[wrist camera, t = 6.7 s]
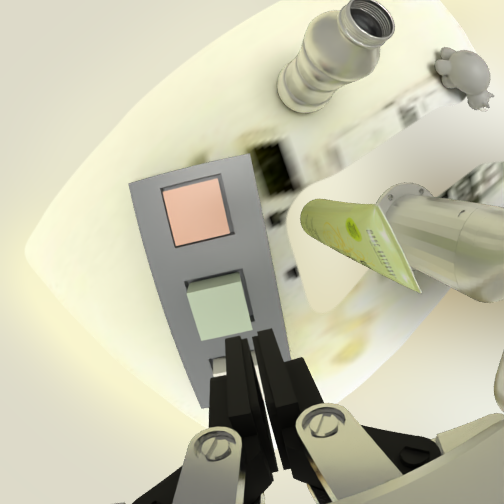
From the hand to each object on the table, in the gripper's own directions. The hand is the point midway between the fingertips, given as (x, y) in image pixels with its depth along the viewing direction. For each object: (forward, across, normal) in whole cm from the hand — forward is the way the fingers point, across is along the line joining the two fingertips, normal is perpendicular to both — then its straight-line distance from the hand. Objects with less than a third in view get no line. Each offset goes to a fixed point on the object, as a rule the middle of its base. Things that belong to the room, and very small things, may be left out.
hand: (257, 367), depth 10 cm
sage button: (+25, +3, +7) cm, 26 cm away
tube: (+27, -11, 0) cm, 29 cm away
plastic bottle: (+27, -12, -16) cm, 34 cm away
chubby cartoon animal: (+27, -40, -17) cm, 51 cm away
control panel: (+27, +3, +7) cm, 28 cm away
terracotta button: (+26, +3, -4) cm, 27 cm away
